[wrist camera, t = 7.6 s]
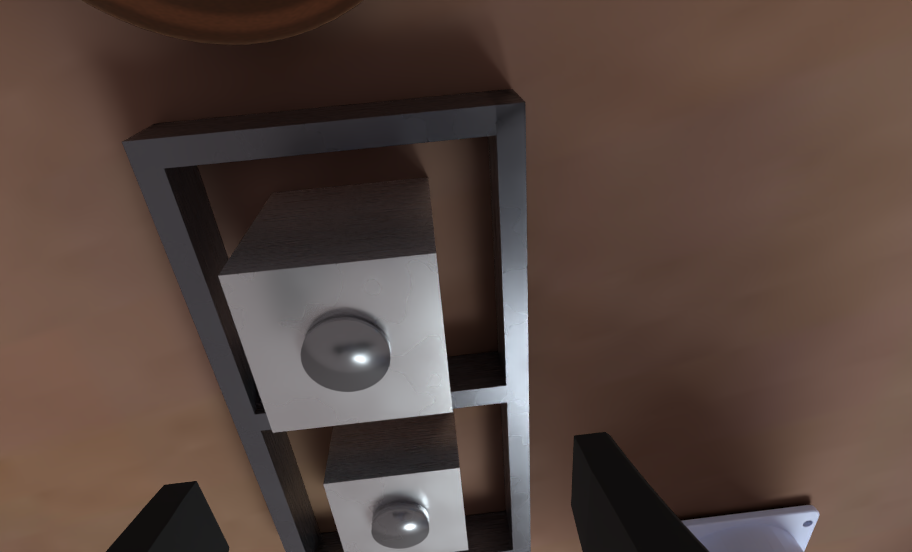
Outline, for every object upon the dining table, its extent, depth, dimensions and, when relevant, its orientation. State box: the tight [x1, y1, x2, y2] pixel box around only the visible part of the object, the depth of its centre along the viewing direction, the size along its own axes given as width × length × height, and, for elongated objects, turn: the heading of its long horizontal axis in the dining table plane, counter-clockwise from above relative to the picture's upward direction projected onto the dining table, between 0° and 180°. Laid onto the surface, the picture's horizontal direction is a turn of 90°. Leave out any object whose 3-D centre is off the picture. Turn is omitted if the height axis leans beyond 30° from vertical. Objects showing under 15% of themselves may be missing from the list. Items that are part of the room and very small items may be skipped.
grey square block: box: [218, 177, 453, 433], centre depth 15 cm, size 5×5×6 cm
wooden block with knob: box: [324, 411, 468, 552], centre depth 21 cm, size 5×5×4 cm
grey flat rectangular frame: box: [122, 89, 531, 552], centre depth 20 cm, size 20×11×2 cm, turn 5°
